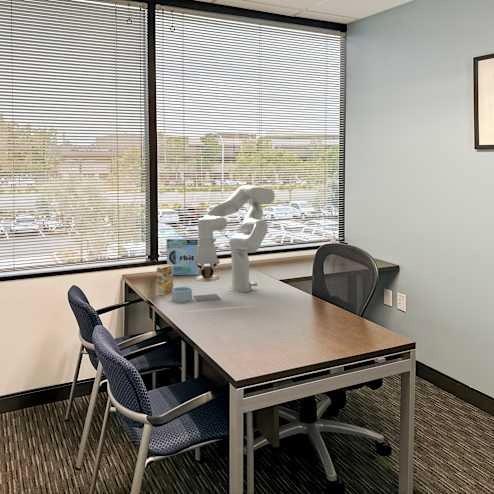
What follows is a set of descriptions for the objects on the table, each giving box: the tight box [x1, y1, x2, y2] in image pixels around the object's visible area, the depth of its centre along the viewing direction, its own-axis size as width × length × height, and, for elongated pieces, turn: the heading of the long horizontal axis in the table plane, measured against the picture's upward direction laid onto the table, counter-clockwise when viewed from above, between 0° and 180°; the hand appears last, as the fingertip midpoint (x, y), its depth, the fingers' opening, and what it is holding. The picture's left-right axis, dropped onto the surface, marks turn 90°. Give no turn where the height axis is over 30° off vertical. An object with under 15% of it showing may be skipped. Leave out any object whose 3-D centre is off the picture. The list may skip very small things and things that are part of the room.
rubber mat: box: [192, 293, 223, 303], centre depth 279 cm, size 13×13×1 cm
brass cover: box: [195, 266, 220, 283], centre depth 277 cm, size 12×12×6 cm
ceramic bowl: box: [171, 286, 193, 303], centre depth 275 cm, size 10×10×6 cm
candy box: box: [156, 264, 174, 297], centre depth 289 cm, size 9×4×15 cm, turn 150°
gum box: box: [166, 238, 199, 276], centre depth 338 cm, size 20×5×23 cm, turn 85°
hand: (207, 276), depth 277 cm, fingers closed on brass cover, 3 cm apart
